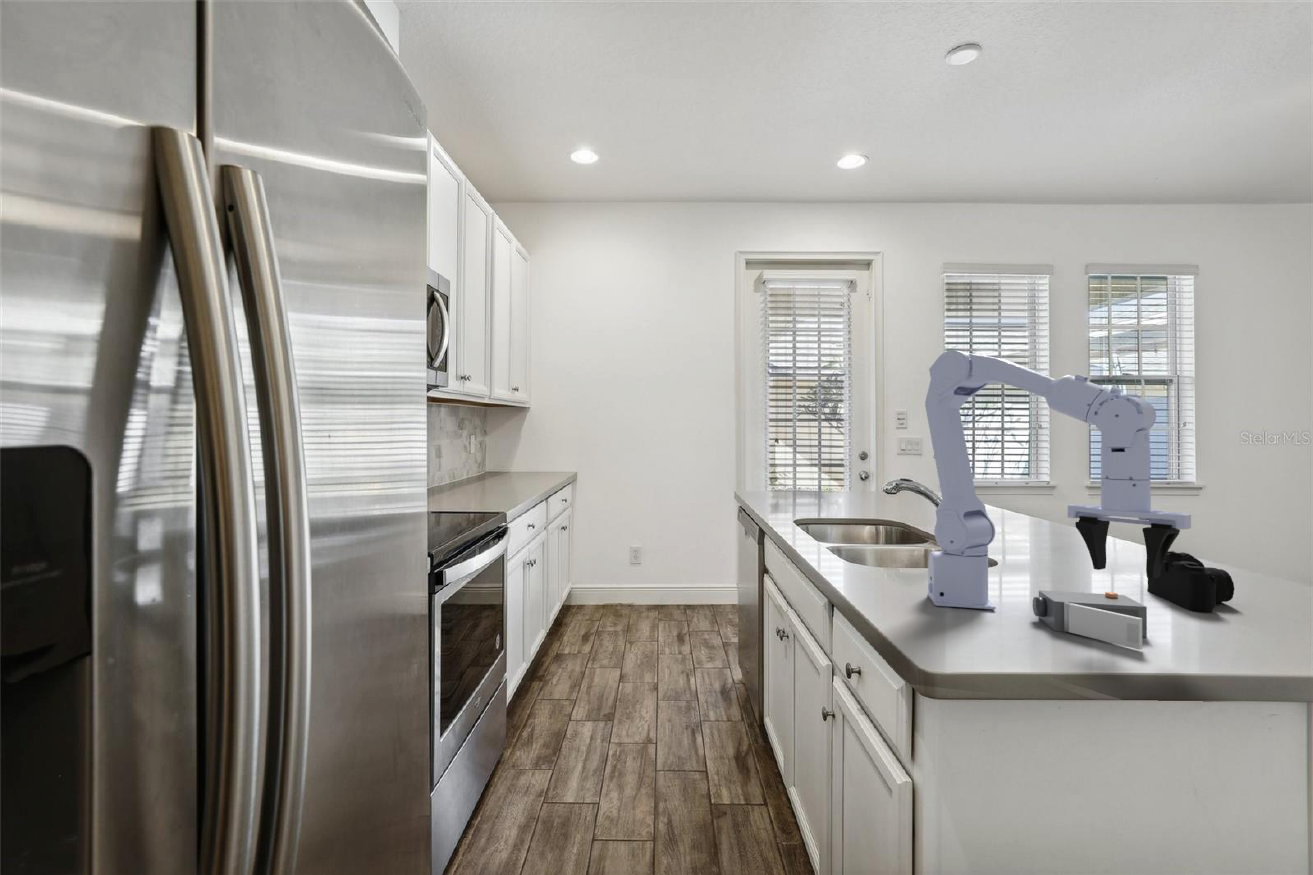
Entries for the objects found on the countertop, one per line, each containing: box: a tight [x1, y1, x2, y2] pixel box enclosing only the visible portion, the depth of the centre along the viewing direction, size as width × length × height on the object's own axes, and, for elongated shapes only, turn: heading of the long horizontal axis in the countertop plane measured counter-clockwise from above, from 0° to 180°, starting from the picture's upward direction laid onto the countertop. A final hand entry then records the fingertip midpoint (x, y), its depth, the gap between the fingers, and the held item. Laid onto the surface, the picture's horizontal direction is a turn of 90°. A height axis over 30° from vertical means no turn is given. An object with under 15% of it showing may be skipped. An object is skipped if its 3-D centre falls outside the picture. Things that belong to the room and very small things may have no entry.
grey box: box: [1032, 590, 1148, 638], centre depth 95 cm, size 13×7×5 cm, turn 75°
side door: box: [1063, 602, 1143, 651], centre depth 89 cm, size 10×1×4 cm, turn 30°
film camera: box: [1147, 550, 1235, 614], centre depth 110 cm, size 15×10×9 cm, turn 168°
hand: (1125, 573), depth 88 cm, fingers open, 6 cm apart
